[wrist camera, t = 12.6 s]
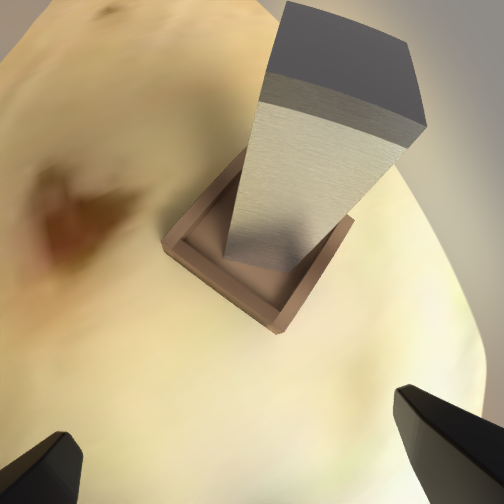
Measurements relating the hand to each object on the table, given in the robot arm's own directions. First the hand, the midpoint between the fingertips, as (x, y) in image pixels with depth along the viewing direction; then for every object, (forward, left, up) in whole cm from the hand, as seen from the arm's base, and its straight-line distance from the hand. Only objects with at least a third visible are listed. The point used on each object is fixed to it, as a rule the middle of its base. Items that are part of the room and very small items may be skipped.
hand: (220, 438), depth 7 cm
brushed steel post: (+9, +3, -10) cm, 14 cm away
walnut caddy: (+9, +3, -11) cm, 15 cm away
